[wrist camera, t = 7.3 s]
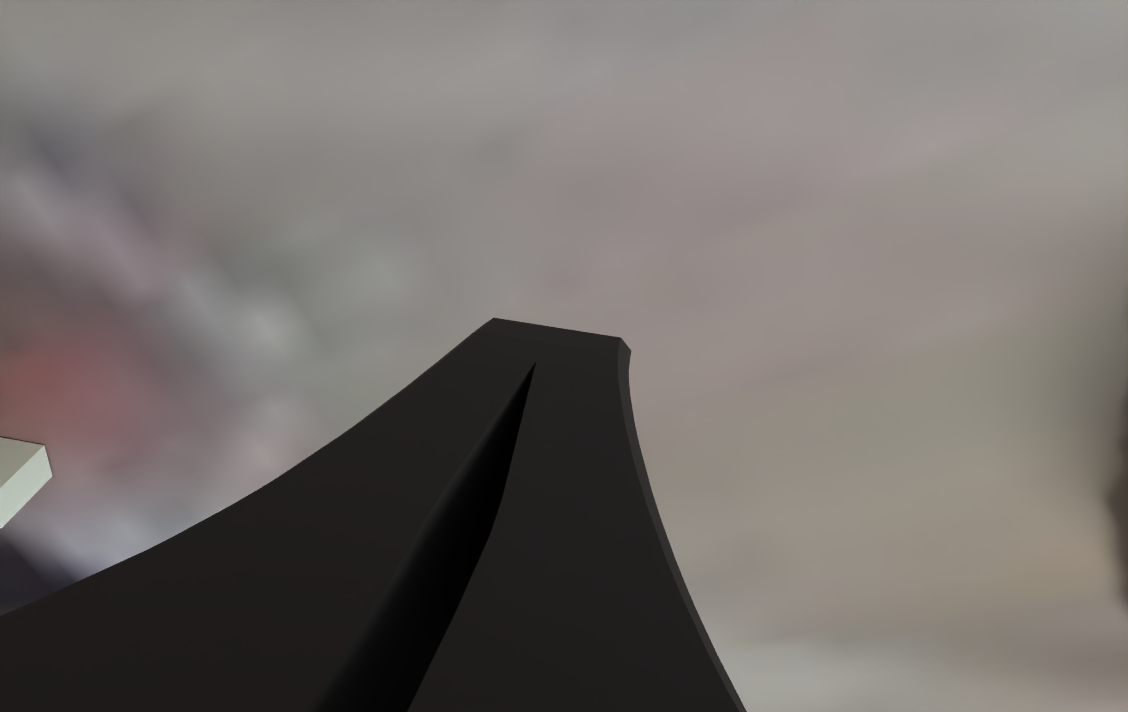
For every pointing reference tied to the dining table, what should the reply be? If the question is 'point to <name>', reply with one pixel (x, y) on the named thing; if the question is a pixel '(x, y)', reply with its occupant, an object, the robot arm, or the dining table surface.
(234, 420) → the dining table surface
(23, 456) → the mint green slab
